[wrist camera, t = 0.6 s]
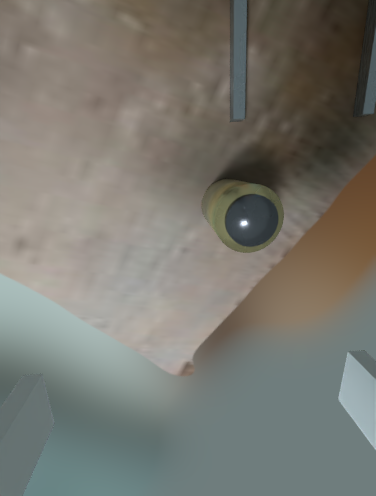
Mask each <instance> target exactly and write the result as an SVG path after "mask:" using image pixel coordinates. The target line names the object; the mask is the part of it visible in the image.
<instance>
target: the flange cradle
mask: <svg viewBox="0 0 376 496" xmlns="http://www.w3.org/2000/svg"><path fill="white" fill-rule="evenodd" d="M246 28H247V0H230V122H239V121H242V120H244V119H245V83H246ZM375 102H376V0H369V4H368V11H367V19H366V26H365V33H364V41H363V48H362V55H361V63H360V70H359V77H358V84H357V92H356V99H355V106H354V114H353V117H359V116H367V115H370V114H374V108H375Z"/></svg>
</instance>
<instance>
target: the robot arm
mask: <svg viewBox="0 0 376 496" xmlns="http://www.w3.org/2000/svg"><path fill="white" fill-rule="evenodd" d="M339 401H340V403H341V404H342V405H343V407H344V408H345V409H346V411H347V412H348V413H349V415H350V416H351V417H352V419H353V420H354V421H355V423H356V424H357V425H358V427H359V428H360V430H361V431H362V432H363V434H364V435H365V436H366V438H367V439H368V440H369V442H370V443H371V444H372V446H373V447H374V448H375V450H376V361H375V360H374V359H373V358H372V357H371V356H370V355H369V354H368V353H367V352H366V351H364V350H361V351H349V352H348V354H347V359H346V364H345V369H344V374H343V379H342V384H341V388H340V393H339ZM53 426H54V420H53V415H52V411H51V407H50V403H49V399H48V394H47V390H46V386H45V382H44V378H43V374H30V375H23V376H22V377H21V379H20V380H19V382H18V383H17V384H16V386H15V387H14V389H13V390H12V392H11V393H10V394H9V396H8V397H7V399H6V400H5V402H4V403H3V404H2V406H1V407H0V496H23V493H24V491H25V489H26V486H27V484H28V482H29V480H30V478H31V475H32V473H33V471H34V468H35V466H36V464H37V462H38V460H39V457H40V455H41V453H42V451H43V448H44V446H45V444H46V442H47V440H48V437H49V435H50V433H51V431H52V428H53Z"/></svg>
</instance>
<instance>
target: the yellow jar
mask: <svg viewBox="0 0 376 496" xmlns="http://www.w3.org/2000/svg"><path fill="white" fill-rule="evenodd" d="M202 212H203V215H204V217H205V219H206V220H207V222H208V223H209V224H210V226H211V227H212V228H213V230H214V231H215V232H216V234H217V235H218V236H219V238H220V239H221V241H222V242H223V243H224V244H225V245H226V246H227V247H229V248H231V249H232V250H235V251H238V252H243V253H250V252H255V251H258V250H261V249H263V248H265V247H266V246H268V245H269V244H270V243H271V242H273V240H274V239H275V238H276V237H277V235H278V234H279V232H280V230H281V227H282V224H283V218H284V212H283V207H282V203H281V201H280V199H279V198H278V196H277V195H276V194H275V193H274V192H273V191H272V190H271V189H269V188H267V187H265V186H263V185H259V184H254V183H249V182H243V181H238V180H232V179H223V180H219V181H217V182H215V183H213V184H212V185H211V186H210V187H209V188H208V189H207V190H206V192H205V194H204V196H203V199H202Z"/></svg>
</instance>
